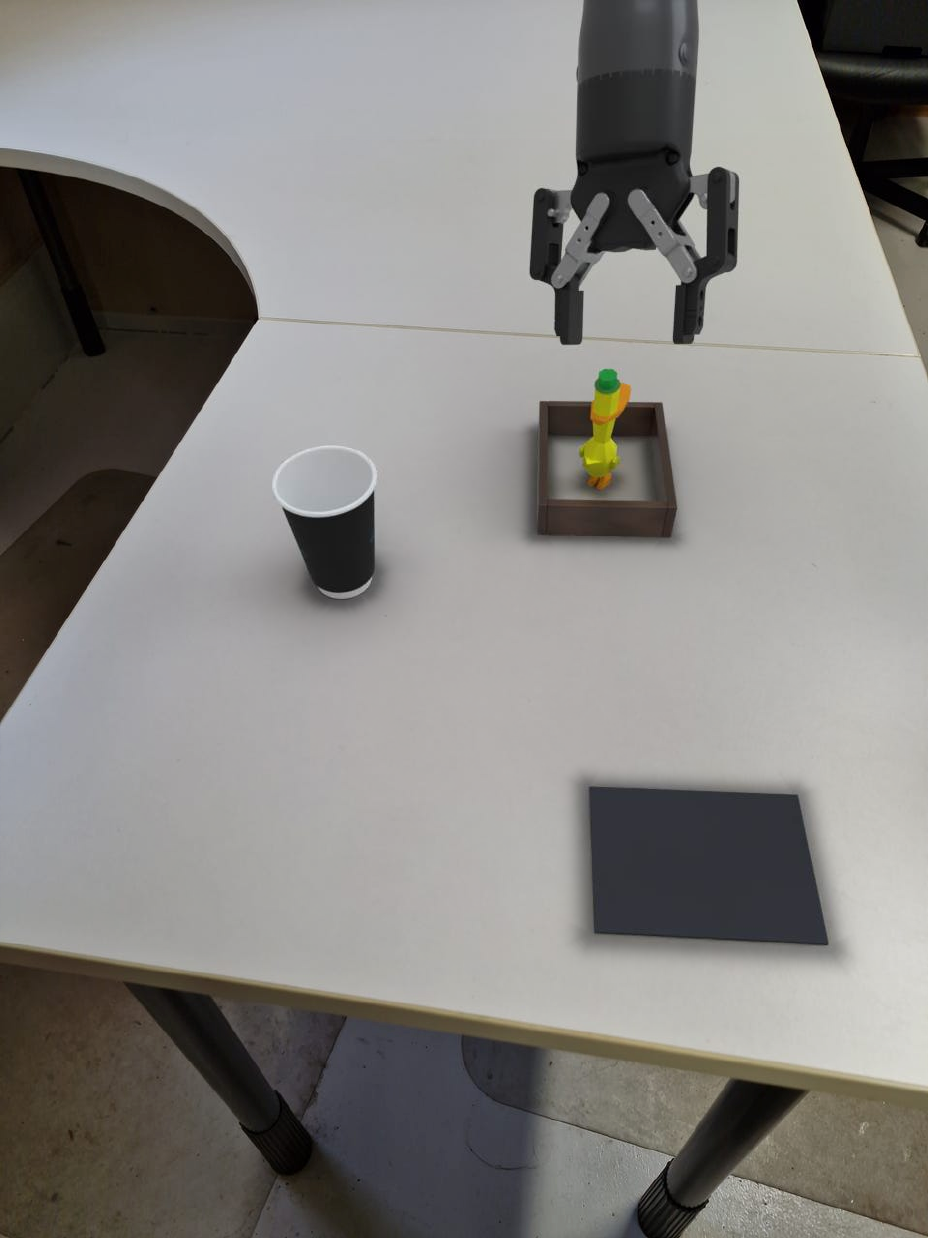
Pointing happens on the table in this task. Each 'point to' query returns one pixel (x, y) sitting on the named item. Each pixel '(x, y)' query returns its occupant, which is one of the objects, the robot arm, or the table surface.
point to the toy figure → (604, 427)
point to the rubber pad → (703, 866)
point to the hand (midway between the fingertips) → (624, 344)
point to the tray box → (606, 513)
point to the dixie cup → (331, 515)
